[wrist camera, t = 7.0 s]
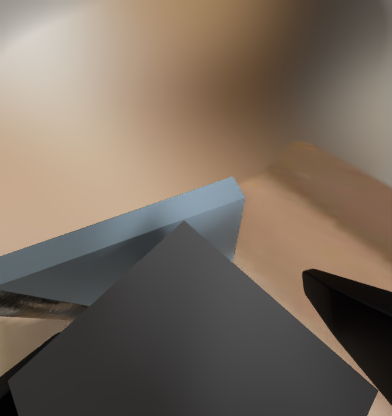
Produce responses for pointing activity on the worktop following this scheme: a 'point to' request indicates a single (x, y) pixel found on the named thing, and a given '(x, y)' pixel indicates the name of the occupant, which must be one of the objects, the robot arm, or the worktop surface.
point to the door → (120, 245)
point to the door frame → (37, 307)
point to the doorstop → (188, 348)
